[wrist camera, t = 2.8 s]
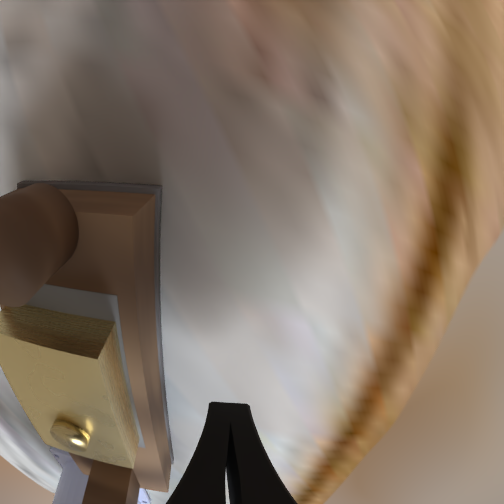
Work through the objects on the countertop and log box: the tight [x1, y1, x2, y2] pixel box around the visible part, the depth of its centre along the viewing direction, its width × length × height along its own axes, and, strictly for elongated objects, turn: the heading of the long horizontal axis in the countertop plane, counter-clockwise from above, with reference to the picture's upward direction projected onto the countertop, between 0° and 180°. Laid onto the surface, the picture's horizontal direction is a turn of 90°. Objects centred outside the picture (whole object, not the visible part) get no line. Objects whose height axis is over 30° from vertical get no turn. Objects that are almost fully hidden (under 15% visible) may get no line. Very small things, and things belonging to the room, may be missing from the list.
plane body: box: [0, 181, 174, 504], centre depth 10 cm, size 19×6×6 cm, turn 173°
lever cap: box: [0, 304, 140, 469], centre depth 9 cm, size 7×4×2 cm, turn 173°
